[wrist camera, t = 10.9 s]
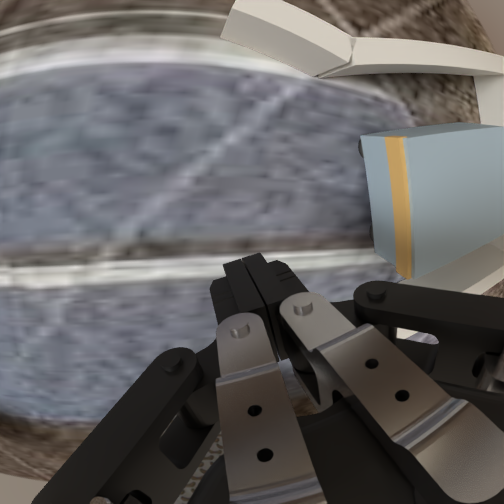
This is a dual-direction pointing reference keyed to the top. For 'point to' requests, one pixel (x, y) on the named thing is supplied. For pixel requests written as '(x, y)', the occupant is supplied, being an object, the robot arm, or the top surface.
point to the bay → (375, 62)
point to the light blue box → (434, 192)
